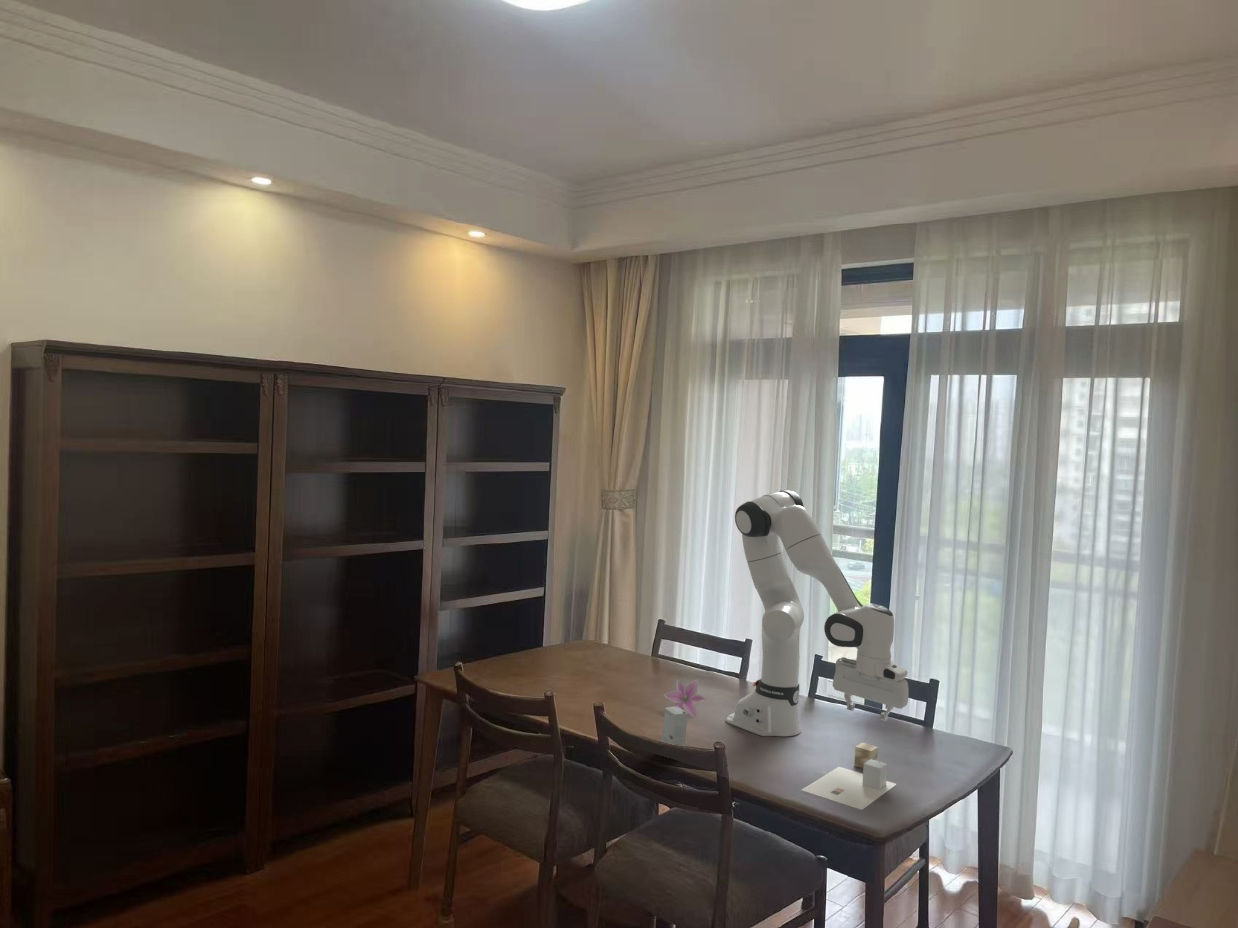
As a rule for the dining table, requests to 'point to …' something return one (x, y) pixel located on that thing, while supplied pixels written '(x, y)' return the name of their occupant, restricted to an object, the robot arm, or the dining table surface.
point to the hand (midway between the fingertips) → (866, 714)
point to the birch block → (865, 754)
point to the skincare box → (674, 726)
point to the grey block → (874, 774)
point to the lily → (686, 696)
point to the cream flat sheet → (846, 788)
